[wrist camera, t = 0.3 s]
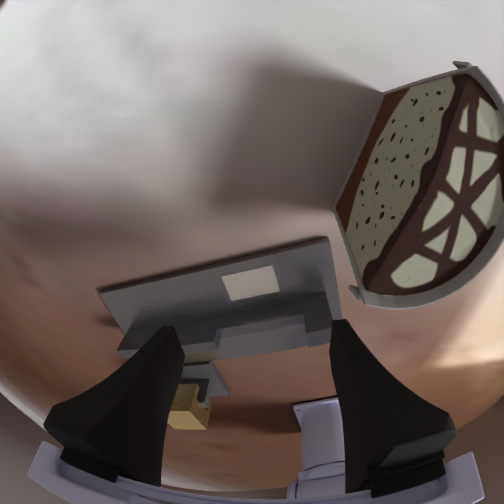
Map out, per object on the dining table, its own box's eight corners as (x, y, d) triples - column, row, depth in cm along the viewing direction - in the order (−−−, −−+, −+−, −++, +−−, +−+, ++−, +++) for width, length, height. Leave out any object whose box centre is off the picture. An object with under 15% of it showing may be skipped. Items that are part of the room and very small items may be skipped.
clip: (196, 383, 26) (189, 411, 23) (211, 403, 28) (206, 429, 24) (164, 384, 27) (155, 410, 23) (180, 404, 28) (173, 428, 25)
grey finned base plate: (230, 390, 30) (225, 418, 26) (178, 392, 31) (170, 418, 28) (210, 358, 27) (203, 388, 24) (155, 362, 29) (144, 389, 25)
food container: (388, 253, 21) (443, 340, 12) (323, 225, 20) (358, 314, 11) (452, 119, 15) (548, 140, 6) (389, 75, 15) (479, 56, 6)
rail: (342, 332, 25) (352, 372, 20) (149, 360, 29) (135, 394, 24) (327, 236, 20) (341, 271, 16) (102, 289, 24) (77, 321, 20)
